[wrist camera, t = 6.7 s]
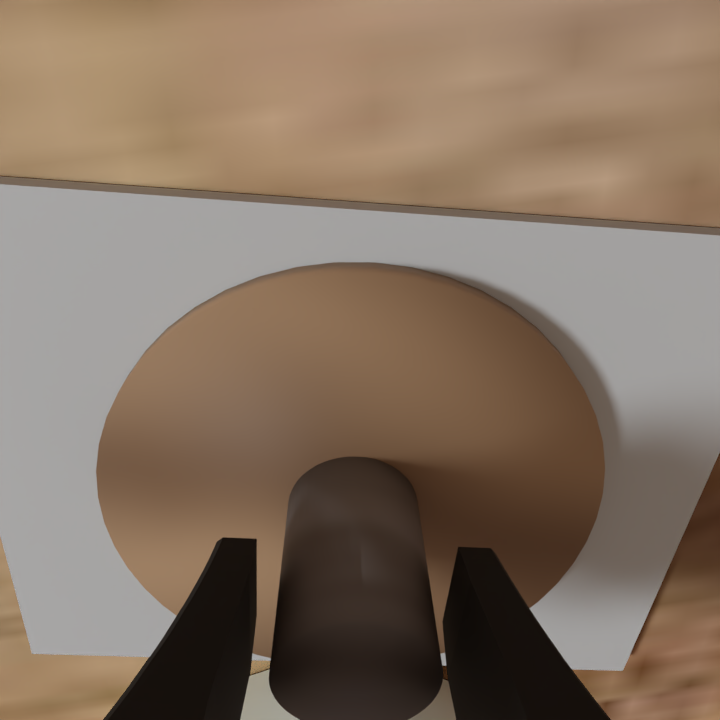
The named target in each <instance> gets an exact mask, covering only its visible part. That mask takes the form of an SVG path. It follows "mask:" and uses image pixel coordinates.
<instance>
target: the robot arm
mask: <svg viewBox="0 0 720 720" xmlns="http://www.w3.org/2000/svg"><path fill="white" fill-rule="evenodd" d="M256 618H257V539H252V538H227V537H223V538H221V539H220V540H219V541H217V542H216V545H215V547H214V549H213V552H212V554H211V556H210V558H209V560H208V562H207V564H206V566H205V568H204V570H203V572H202V573H201V575H200V577H199V579H198V581H197V583H196V584H195V586H194V588H193V590H192V591H191V593H190V595H189V597H188V598H187V600H186V602H185V603H184V605H183V607H182V608H181V610H180V611H179V613H178V614H177V616H176V618H175V619H174V621H173V622H172V624H171V626H170V627H169V629H168V630H167V632H166V634H165V635H164V637H163V638H162V640H161V641H160V643H159V644H158V646H157V647H156V649H155V650H154V651H153V653H152V654H151V656H150V657H149V658H148V660H147V661H146V663H145V664H144V666H143V667H142V668H141V670H140V671H139V673H138V674H137V675H136V677H135V678H134V680H133V681H132V682H131V684H130V685H129V687H128V688H127V689H126V691H125V692H124V693H123V695H122V696H121V697H120V699H119V700H118V701H117V703H116V704H115V705H114V706H113V708H112V709H111V710H110V712H109V713H108V714H107V715H106V717H105V718H104V719H103V720H240V718H241V714H242V709H243V704H244V699H245V695H246V690H247V685H248V680H249V676H250V670H251V661H252V653H253V644H254V636H255V627H256ZM442 623H443V635H444V646H445V656H446V666H447V675H448V682H449V687H450V692H451V697H452V702H453V707H454V712H455V716H456V720H611V719H610V718H609V717H608V716H607V714H606V713H605V712H604V711H603V709H602V708H601V707H600V706H599V704H598V703H597V702H596V701H595V699H594V698H593V697H592V695H591V694H590V693H589V691H588V690H587V689H586V688H585V686H584V685H583V684H582V682H581V681H580V680H579V679H578V677H577V676H576V675H575V673H574V672H573V670H572V669H571V668H570V666H569V665H568V664H567V662H566V661H565V660H564V658H563V657H562V655H561V654H560V652H559V651H558V650H557V648H556V647H555V645H554V644H553V642H552V641H551V640H550V638H549V637H548V635H547V634H546V632H545V631H544V630H543V628H542V627H541V625H540V624H539V622H538V621H537V619H536V618H535V616H534V615H533V613H532V612H531V610H530V609H529V607H528V605H527V604H526V602H525V601H524V599H523V598H522V596H521V595H520V593H519V591H518V590H517V588H516V587H515V585H514V583H513V582H512V580H511V578H510V577H509V575H508V574H507V572H506V570H505V569H504V567H503V565H502V564H501V562H500V560H499V558H498V557H497V555H496V553H495V552H494V551H493V550H492V549H491V548H477V547H458V550H457V555H456V559H455V564H454V569H453V573H452V578H451V583H450V588H449V592H448V597H447V602H446V606H445V611H444V616H443V621H442Z"/></svg>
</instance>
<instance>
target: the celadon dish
mask: <svg viewBox="0 0 720 720" xmlns="http://www.w3.org/2000/svg"><path fill="white" fill-rule="evenodd" d="M269 670H270V669H269ZM269 670H266V671H263V672H260V673H257V674H254V675H251V676H249V680H248V685H247V690H246V695H245V699H244V704H243V709H242V714H241V718H240V720H300V719H298V718H296V717H294V716H293V715H291V714H290V713H288V712H287V711H286V710H285V709H284V708H283V707H282V706H280V704H279V703H278V702H277V701H276V699H275V698H274V696H273V694H272V692H271V689H270V686H269ZM408 720H456V716H455V712H454V707H453V702H452V697H451V692H450V687H449V682H448V681H447V680H444V679H443V682H442V685H441V688H440V691H439V693H438V694H437V696H436V697H435V699H434V700H433V701H432V703H431V704H430V705H429V706H427V707H426V708H425V709H424V710H423V711H421V712H420V713H419V714H417V715H415V716H414V717H412V718H410V719H408Z"/></svg>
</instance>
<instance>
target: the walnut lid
mask: <svg viewBox="0 0 720 720" xmlns="http://www.w3.org/2000/svg"><path fill="white" fill-rule="evenodd" d="M604 476H605V460H604V448H603V440H602V436H601V432H600V429H599V425H598V421H597V417H596V414H595V412H594V410H593V408H592V405H591V403H590V401H589V399H588V397H587V395H586V392H585V390H584V388H583V387H582V385H581V384H580V382H579V381H578V379H577V377H576V376H575V374H574V373H573V371H572V370H571V368H570V367H569V365H568V364H567V362H566V361H565V359H564V358H563V357H562V355H561V354H560V352H559V351H558V349H557V348H556V347H555V346H554V345H553V344H552V343H551V342H550V341H549V340H548V339H547V338H546V337H545V336H544V335H543V333H542V332H541V331H540V330H539V329H538V328H537V327H536V326H534V325H533V324H532V323H530V322H529V321H528V320H527V319H525V318H524V317H523V316H522V315H520V314H519V313H518V312H516V311H515V310H514V309H513V308H511V307H510V306H508V305H506V304H504V303H503V302H501V301H499V300H497V299H496V298H494V297H492V296H491V295H489V294H487V293H485V292H484V291H482V290H480V289H477V288H475V287H472V286H470V285H467V284H465V283H462V282H460V281H457V280H455V279H452V278H450V277H447V276H443V275H440V274H436V273H432V272H428V271H424V270H420V269H417V268H413V267H406V266H398V265H390V264H383V263H375V262H333V263H325V264H317V265H309V266H300V267H295V268H291V269H287V270H283V271H279V272H275V273H271V274H267V275H263V276H259V277H257V278H254V279H252V280H249V281H247V282H244V283H242V284H239V285H237V286H234V287H231V288H229V289H226V290H224V291H223V292H221V293H219V294H217V295H215V296H214V297H212V298H210V299H208V300H207V301H205V302H203V303H201V304H199V305H198V306H196V307H194V308H193V309H192V310H190V311H189V312H188V313H186V314H185V315H184V316H182V317H181V318H180V319H179V320H177V321H176V322H175V323H173V324H172V325H171V326H169V327H168V328H167V329H166V330H165V331H164V332H163V333H162V334H161V335H160V336H159V337H158V338H157V339H156V340H155V341H154V342H153V343H152V345H151V346H150V347H149V348H148V349H147V350H146V351H145V352H144V354H143V355H142V356H141V358H140V359H139V361H138V362H137V363H136V365H135V366H134V368H133V369H132V371H131V372H130V373H129V375H128V376H127V378H126V380H125V382H124V383H123V385H122V387H121V388H120V390H119V392H118V394H117V396H116V398H115V400H114V402H113V404H112V407H111V409H110V411H109V413H108V415H107V417H106V420H105V424H104V427H103V431H102V434H101V438H100V442H99V447H98V457H97V467H96V477H97V491H98V499H99V504H100V508H101V512H102V516H103V520H104V523H105V526H106V528H107V530H108V533H109V535H110V537H111V540H112V542H113V544H114V547H115V548H116V550H117V551H118V553H119V555H120V556H121V558H122V560H123V561H124V563H125V564H126V566H127V568H128V569H129V570H130V571H131V573H132V574H133V575H134V576H135V577H136V579H137V580H138V581H139V582H140V584H141V585H142V586H143V587H144V588H145V589H146V590H147V591H148V592H149V593H150V594H151V595H152V596H153V597H154V598H155V599H156V600H157V601H159V602H160V603H161V604H162V605H163V606H164V607H165V608H167V609H168V610H169V611H171V612H172V613H174V614H175V615H176V616H177V614H178V613H179V611H180V610H181V608H182V607H183V605H184V603H185V602H186V600H187V598H188V597H189V595H190V593H191V591H192V590H193V588H194V586H195V584H196V583H197V581H198V579H199V577H200V575H201V573H202V572H203V570H204V568H205V566H206V564H207V562H208V560H209V558H210V556H211V554H212V552H213V549H214V547H215V545H216V542H217V541H219V540H220V539H221V538H223V537H227V538H252V539H257V618H256V627H255V636H254V644H253V654H256V655H260V656H264V657H268V658H271V661H270V670H269V686H270V689H271V692H272V694H273V696H274V698H275V699H276V701H277V702H278V703H279V704H280V706H282V707H283V708H284V709H285V710H286V711H287V712H288V713H290V714H291V715H293V716H294V717H296V718H298V719H300V720H408V719H410V718H412V717H414V716H415V715H417V714H419V713H420V712H421V711H423V710H424V709H425V708H426V707H427V706H429V705H430V704H431V703H432V701H433V700H434V699H435V697H436V696H437V694H438V693H439V691H440V688H441V685H442V682H443V667H442V660H441V654H442V653H445V646H444V635H443V623H442V621H443V616H444V611H445V606H446V602H447V597H448V592H449V588H450V583H451V578H452V573H453V569H454V564H455V559H456V555H457V550H458V547H477V548H491V549H492V550H493V551H494V552H495V553H496V555H497V557H498V558H499V560H500V562H501V564H502V565H503V567H504V569H505V570H506V572H507V574H508V575H509V577H510V578H511V580H512V582H513V583H514V585H515V587H516V588H517V590H518V591H519V593H520V595H521V596H522V598H523V599H524V601H525V602H526V604H527V605H528V607H529V608H531V607H532V606H533V605H535V604H536V603H537V602H539V601H540V600H541V599H542V598H543V597H544V596H545V595H546V594H547V593H548V592H549V591H550V590H551V589H552V588H553V587H554V586H555V585H556V584H557V583H558V582H559V581H560V579H561V578H562V577H563V576H564V575H565V573H566V572H567V571H568V570H569V568H570V567H571V566H572V565H573V563H574V562H575V560H576V558H577V557H578V555H579V554H580V552H581V550H582V549H583V547H584V545H585V544H586V542H587V540H588V537H589V535H590V533H591V531H592V528H593V526H594V524H595V521H596V519H597V515H598V511H599V507H600V503H601V500H602V496H603V488H604Z"/></svg>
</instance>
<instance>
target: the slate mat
mask: <svg viewBox="0 0 720 720" xmlns="http://www.w3.org/2000/svg"><path fill="white" fill-rule="evenodd" d="M333 262H375V263H383V264H390V265H398V266H406V267H413V268H417V269H420V270H424V271H428V272H432V273H436V274H440V275H443V276H447V277H450V278H452V279H455V280H457V281H460V282H462V283H465V284H467V285H470V286H472V287H475V288H477V289H480V290H482V291H484V292H485V293H487V294H489V295H491V296H492V297H494V298H496V299H497V300H499V301H501V302H503V303H504V304H506V305H508V306H510V307H511V308H513V309H514V310H515V311H516V312H518V313H519V314H520V315H522V316H523V317H524V318H525V319H527V320H528V321H529V322H530V323H532V324H533V325H534V326H536V327H537V328H538V329H539V330H540V331H541V332H542V333H543V335H544V336H545V337H546V338H547V339H548V340H549V341H550V342H551V343H552V344H553V345H554V346H555V347H556V348H557V349H558V351H559V352H560V354H561V355H562V357H563V358H564V359H565V361H566V362H567V364H568V365H569V367H570V368H571V370H572V371H573V373H574V374H575V376H576V377H577V379H578V381H579V382H580V384H581V385H582V387H583V388H584V390H585V392H586V395H587V397H588V399H589V401H590V403H591V405H592V408H593V410H594V412H595V414H596V417H597V421H598V425H599V429H600V432H601V436H602V440H603V448H604V460H605V476H604V488H603V496H602V500H601V503H600V507H599V511H598V515H597V519H596V521H595V524H594V526H593V528H592V531H591V533H590V535H589V537H588V540H587V542H586V544H585V545H584V547H583V549H582V550H581V552H580V554H579V555H578V557H577V558H576V560H575V562H574V563H573V565H572V566H571V567H570V568H569V570H568V571H567V572H566V573H565V575H564V576H563V577H562V578H561V579H560V581H559V582H558V583H557V584H556V585H555V586H554V587H553V588H552V589H551V590H550V591H549V592H548V593H547V594H546V595H545V596H544V597H543V598H542V599H541V600H540V601H539V602H537V603H536V604H535V605H533V606H532V607H531V608H529V609H530V610H531V612H532V613H533V615H534V616H535V618H536V619H537V621H538V622H539V624H540V625H541V627H542V628H543V630H544V631H545V632H546V634H547V635H548V637H549V638H550V640H551V641H552V642H553V644H554V645H555V647H556V648H557V650H558V651H559V652H560V654H561V655H562V657H563V658H564V660H565V661H566V662H567V664H568V665H569V666H570V668H571V669H581V670H616V671H623V669H624V667H625V665H626V662H627V660H628V658H629V656H630V653H631V651H632V649H633V647H634V644H635V642H636V640H637V638H638V635H639V633H640V631H641V629H642V626H643V624H644V622H645V620H646V617H647V615H648V613H649V611H650V608H651V606H652V604H653V602H654V599H655V597H656V595H657V593H658V590H659V588H660V586H661V584H662V581H663V579H664V577H665V575H666V572H667V570H668V568H669V566H670V563H671V561H672V559H673V556H674V554H675V552H676V550H677V547H678V545H679V543H680V541H681V538H682V536H683V534H684V532H685V529H686V527H687V525H688V523H689V520H690V518H691V516H692V514H693V511H694V509H695V507H696V505H697V502H698V500H699V498H700V496H701V493H702V491H703V489H704V487H705V484H706V482H707V480H708V478H709V475H710V473H711V471H712V469H713V466H714V464H715V462H716V460H717V457H718V455H719V453H720V228H710V227H697V226H683V225H669V224H655V223H641V222H627V221H613V220H600V219H586V218H572V217H558V216H544V215H530V214H516V213H502V212H489V211H475V210H461V209H447V208H433V207H419V206H405V205H392V204H378V203H364V202H350V201H336V200H322V199H308V198H295V197H281V196H267V195H253V194H239V193H225V192H211V191H197V190H184V189H170V188H156V187H142V186H128V185H114V184H100V183H87V182H73V181H59V180H45V179H31V178H17V177H3V176H0V536H1V540H2V543H3V547H4V551H5V555H6V558H7V562H8V566H9V570H10V573H11V577H12V581H13V584H14V588H15V592H16V596H17V599H18V603H19V607H20V610H21V614H22V618H23V622H24V625H25V629H26V633H27V636H28V640H29V644H30V648H31V651H32V654H59V655H94V656H129V657H150V656H151V654H152V653H153V651H154V650H155V649H156V647H157V646H158V644H159V643H160V641H161V640H162V638H163V637H164V635H165V634H166V632H167V630H168V629H169V627H170V626H171V624H172V622H173V621H174V619H175V618H176V615H175V614H174V613H172V612H171V611H169V610H168V609H167V608H165V607H164V606H163V605H162V604H161V603H160V602H159V601H157V600H156V599H155V598H154V597H153V596H152V595H151V594H150V593H149V592H148V591H147V590H146V589H145V588H144V587H143V586H142V585H141V584H140V582H139V581H138V580H137V579H136V577H135V576H134V575H133V574H132V573H131V571H130V570H129V569H128V568H127V566H126V564H125V563H124V561H123V560H122V558H121V556H120V555H119V553H118V551H117V550H116V548H115V547H114V544H113V542H112V540H111V537H110V535H109V533H108V530H107V528H106V526H105V523H104V520H103V516H102V512H101V508H100V504H99V499H98V491H97V477H96V467H97V457H98V447H99V442H100V438H101V434H102V431H103V427H104V424H105V420H106V417H107V415H108V413H109V411H110V409H111V407H112V404H113V402H114V400H115V398H116V396H117V394H118V392H119V390H120V388H121V387H122V385H123V383H124V382H125V380H126V378H127V376H128V375H129V373H130V372H131V371H132V369H133V368H134V366H135V365H136V363H137V362H138V361H139V359H140V358H141V356H142V355H143V354H144V352H145V351H146V350H147V349H148V348H149V347H150V346H151V345H152V343H153V342H154V341H155V340H156V339H157V338H158V337H159V336H160V335H161V334H162V333H163V332H164V331H165V330H166V329H167V328H168V327H169V326H171V325H172V324H173V323H175V322H176V321H177V320H179V319H180V318H181V317H182V316H184V315H185V314H186V313H188V312H189V311H190V310H192V309H193V308H194V307H196V306H198V305H199V304H201V303H203V302H205V301H207V300H208V299H210V298H212V297H214V296H215V295H217V294H219V293H221V292H223V291H224V290H226V289H229V288H231V287H234V286H237V285H239V284H242V283H244V282H247V281H249V280H252V279H254V278H257V277H259V276H263V275H267V274H271V273H275V272H279V271H283V270H287V269H291V268H295V267H300V266H309V265H317V264H325V263H333ZM252 660H268V661H271V658H268V657H264V656H260V655H256V654H253V653H252ZM441 660H442V666H446V656H445V653H442V654H441Z"/></svg>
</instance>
